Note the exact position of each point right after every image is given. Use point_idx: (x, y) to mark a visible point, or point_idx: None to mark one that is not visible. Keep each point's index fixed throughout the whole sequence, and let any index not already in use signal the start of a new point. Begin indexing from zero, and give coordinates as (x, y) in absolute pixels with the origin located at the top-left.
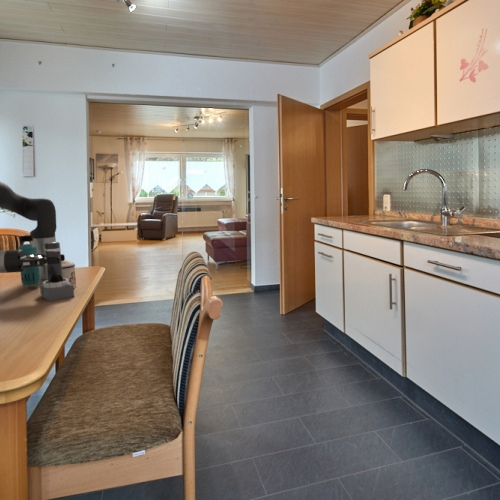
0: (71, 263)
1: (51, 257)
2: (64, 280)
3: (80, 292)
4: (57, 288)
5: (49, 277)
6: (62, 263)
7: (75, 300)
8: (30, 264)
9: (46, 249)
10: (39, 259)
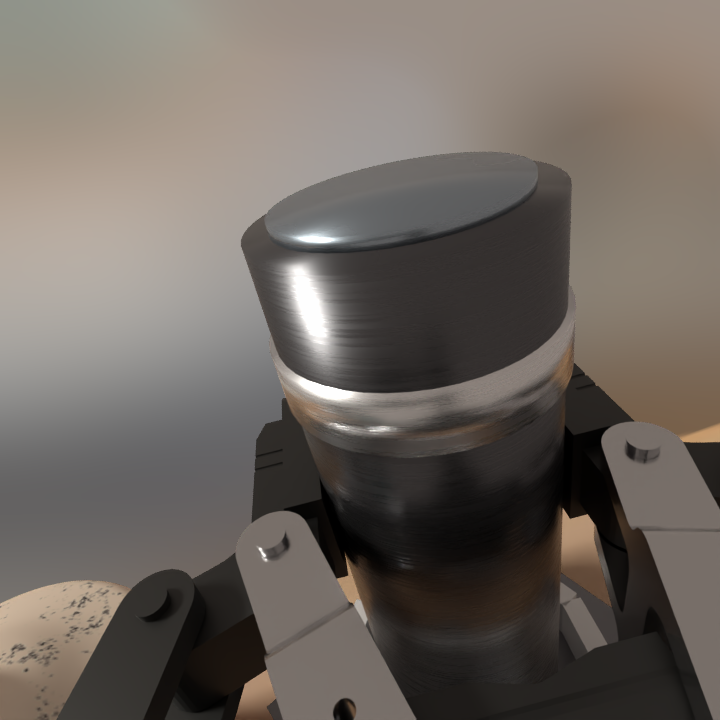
0: (54, 593)
1: (574, 388)
2: (370, 629)
3: (355, 592)
4: (594, 599)
5: (557, 663)
6: (75, 663)
7: (570, 520)
8: None
9: (575, 314)
10: None
